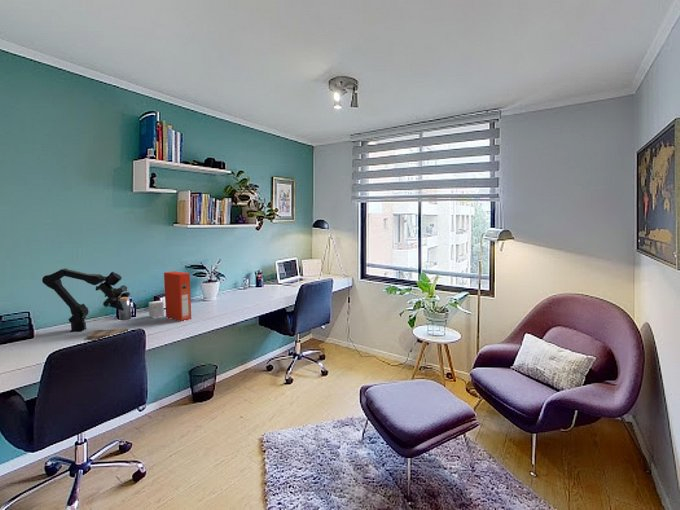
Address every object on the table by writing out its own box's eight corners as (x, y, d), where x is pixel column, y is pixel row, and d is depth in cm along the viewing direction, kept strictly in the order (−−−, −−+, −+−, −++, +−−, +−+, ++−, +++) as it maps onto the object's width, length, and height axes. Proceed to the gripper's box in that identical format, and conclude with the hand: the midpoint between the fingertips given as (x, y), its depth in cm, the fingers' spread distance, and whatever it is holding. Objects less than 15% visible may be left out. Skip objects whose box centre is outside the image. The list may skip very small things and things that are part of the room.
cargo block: (119, 301, 220) (119, 298, 220) (122, 299, 224) (122, 297, 224) (126, 300, 221) (126, 298, 221) (129, 299, 225) (129, 296, 225)
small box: (160, 314, 260) (160, 300, 259) (164, 316, 256) (163, 301, 255) (148, 317, 253) (148, 302, 252) (152, 318, 250) (151, 303, 249)
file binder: (180, 321, 242) (179, 274, 239) (165, 317, 252) (163, 272, 248) (191, 319, 249) (189, 273, 246) (176, 315, 258) (174, 271, 255)
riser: (87, 339, 206) (86, 336, 205) (95, 333, 216) (95, 330, 216) (122, 337, 210) (121, 334, 209) (128, 331, 220) (128, 328, 220)
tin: (117, 320, 220) (117, 301, 219) (121, 318, 226) (120, 299, 225) (128, 320, 222) (128, 301, 220) (132, 317, 227) (131, 299, 226)
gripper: (107, 284, 212) (126, 303, 213) (126, 279, 231) (144, 296, 232) (94, 297, 213) (113, 316, 214) (115, 291, 232) (132, 308, 233)
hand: (126, 308), depth 223 cm, fingers closed on tin, 6 cm apart
